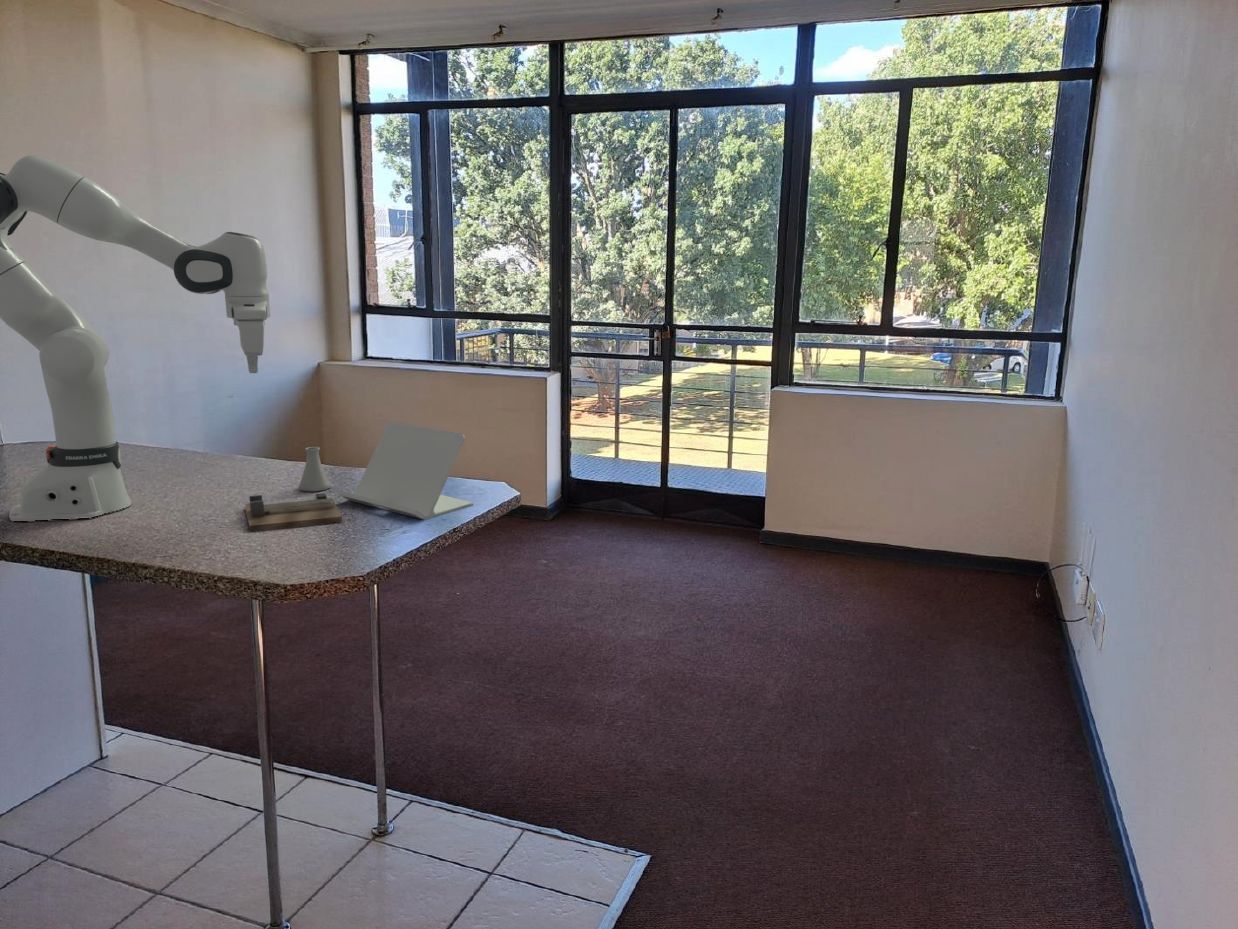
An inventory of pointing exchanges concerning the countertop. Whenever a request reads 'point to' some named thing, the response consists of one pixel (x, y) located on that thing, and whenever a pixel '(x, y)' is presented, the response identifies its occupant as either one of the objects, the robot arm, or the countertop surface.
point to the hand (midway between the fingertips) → (253, 372)
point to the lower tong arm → (258, 508)
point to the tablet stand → (411, 472)
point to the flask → (313, 472)
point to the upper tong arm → (298, 501)
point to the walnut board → (292, 518)
